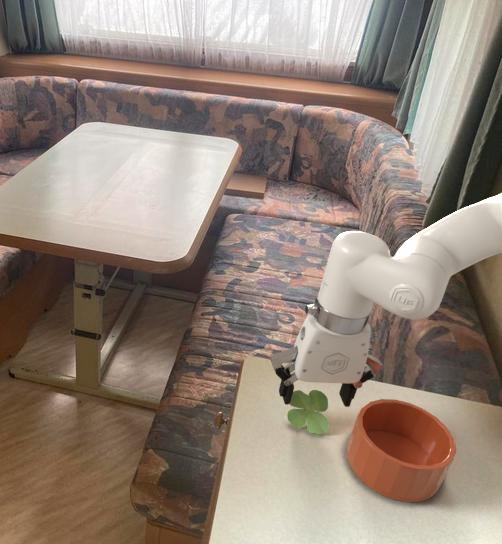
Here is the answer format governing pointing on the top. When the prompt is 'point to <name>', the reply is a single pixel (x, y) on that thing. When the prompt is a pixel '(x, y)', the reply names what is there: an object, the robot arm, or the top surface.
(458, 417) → the top surface
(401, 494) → the planter
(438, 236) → the robot arm
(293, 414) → the green leafy piece
